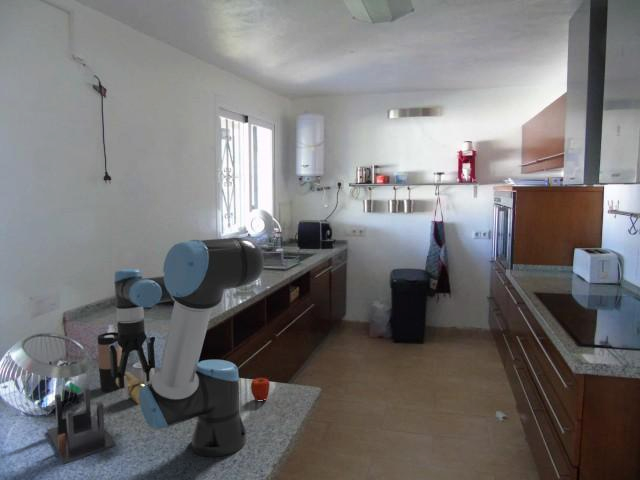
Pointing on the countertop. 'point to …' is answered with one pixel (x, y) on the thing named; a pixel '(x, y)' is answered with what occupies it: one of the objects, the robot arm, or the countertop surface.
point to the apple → (260, 388)
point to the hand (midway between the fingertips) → (135, 395)
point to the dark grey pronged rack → (79, 431)
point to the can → (137, 374)
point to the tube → (133, 386)
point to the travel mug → (107, 361)
